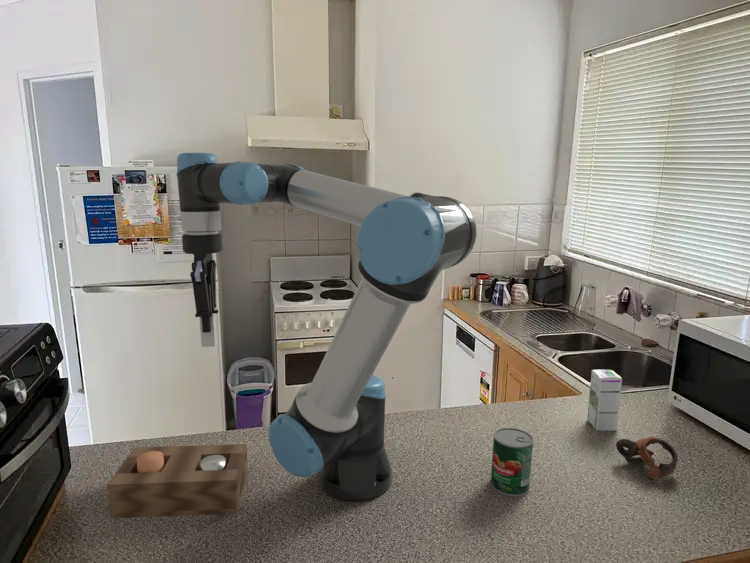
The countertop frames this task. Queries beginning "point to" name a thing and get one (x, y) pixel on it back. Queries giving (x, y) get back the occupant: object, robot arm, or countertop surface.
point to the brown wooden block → (179, 483)
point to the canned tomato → (511, 461)
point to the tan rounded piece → (150, 462)
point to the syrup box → (604, 400)
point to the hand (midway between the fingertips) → (209, 345)
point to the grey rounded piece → (213, 463)
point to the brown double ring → (648, 455)
